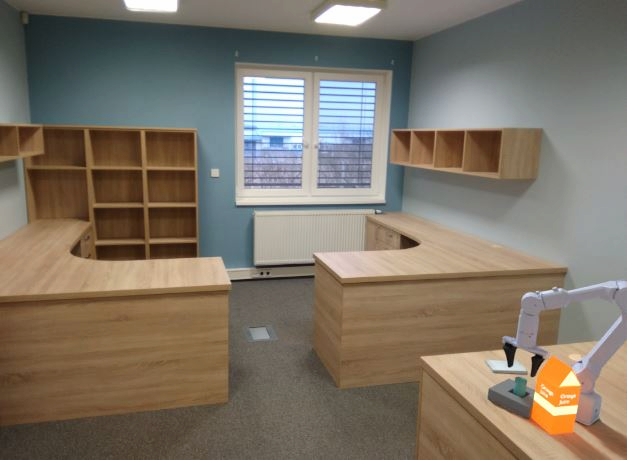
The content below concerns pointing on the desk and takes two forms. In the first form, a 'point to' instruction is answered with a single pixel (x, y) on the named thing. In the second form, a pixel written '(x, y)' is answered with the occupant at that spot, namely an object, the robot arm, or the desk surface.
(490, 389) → the socket block
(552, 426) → the orange juice
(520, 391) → the peg
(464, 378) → the desk surface
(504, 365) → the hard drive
